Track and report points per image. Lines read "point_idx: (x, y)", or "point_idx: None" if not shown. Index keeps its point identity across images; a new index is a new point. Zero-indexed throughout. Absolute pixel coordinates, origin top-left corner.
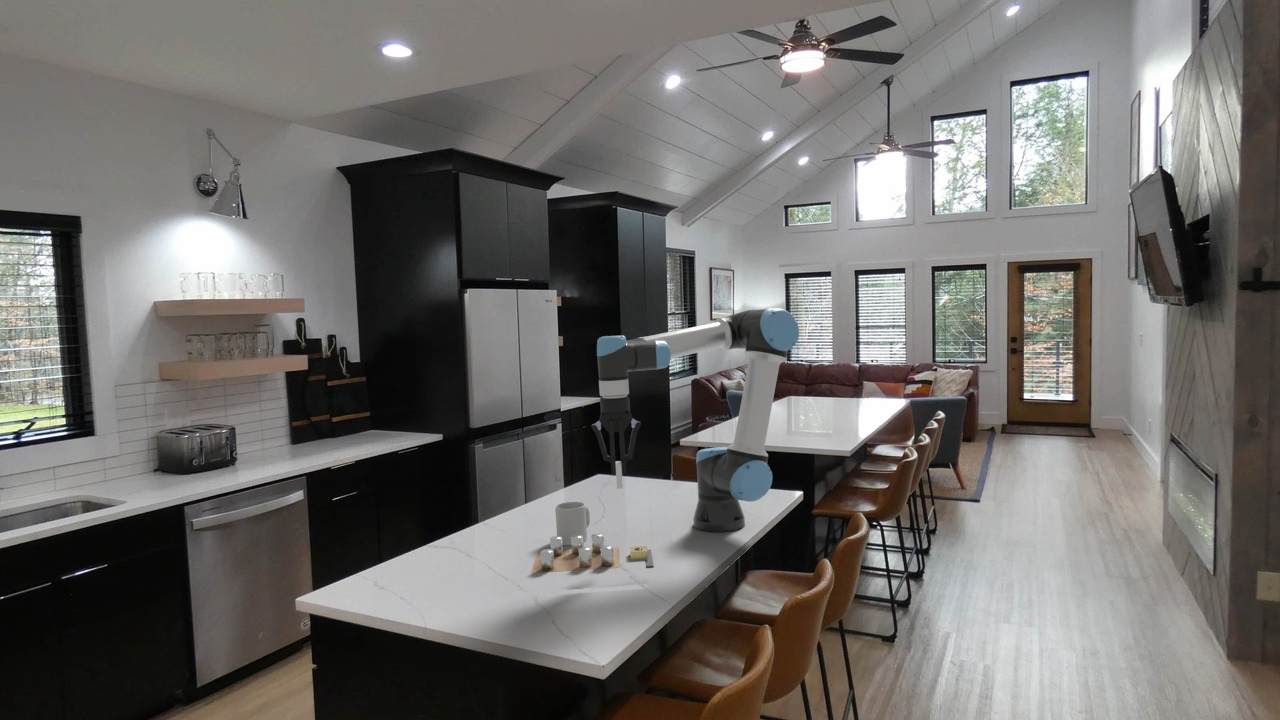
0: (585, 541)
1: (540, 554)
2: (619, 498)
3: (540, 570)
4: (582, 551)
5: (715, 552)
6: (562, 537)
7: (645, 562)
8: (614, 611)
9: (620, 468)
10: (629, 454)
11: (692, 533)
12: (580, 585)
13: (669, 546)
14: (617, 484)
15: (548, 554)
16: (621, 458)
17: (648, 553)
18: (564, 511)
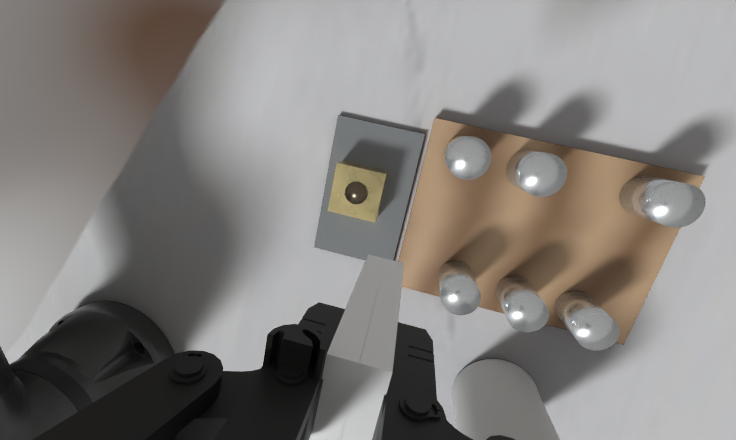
0: (464, 374)
1: (619, 326)
2: None
3: None
4: (557, 157)
5: (166, 164)
6: (536, 393)
7: (352, 149)
8: None
9: (351, 322)
10: (168, 401)
11: (190, 327)
12: (577, 41)
13: (263, 259)
14: (397, 273)
15: (678, 182)
16: (303, 397)
17: (327, 218)
18: None
